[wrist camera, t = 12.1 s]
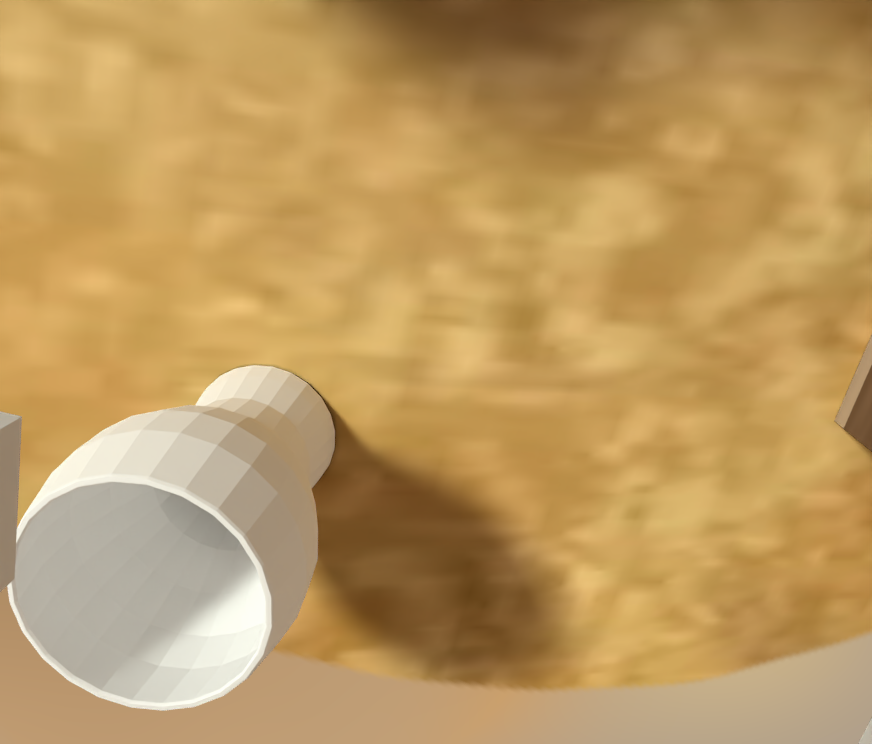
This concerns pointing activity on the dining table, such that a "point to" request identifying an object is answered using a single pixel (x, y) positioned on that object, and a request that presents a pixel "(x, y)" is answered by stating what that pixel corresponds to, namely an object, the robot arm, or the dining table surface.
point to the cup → (177, 543)
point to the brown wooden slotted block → (859, 402)
